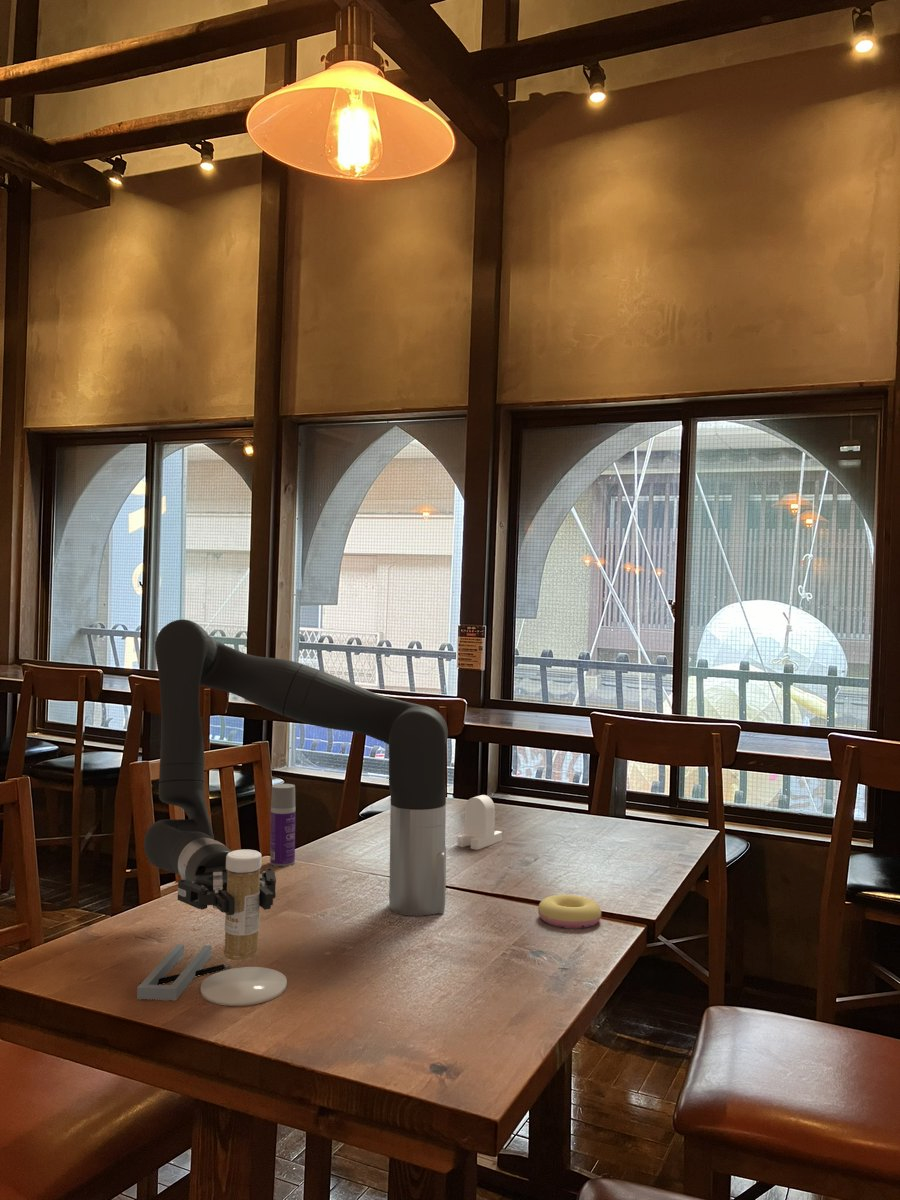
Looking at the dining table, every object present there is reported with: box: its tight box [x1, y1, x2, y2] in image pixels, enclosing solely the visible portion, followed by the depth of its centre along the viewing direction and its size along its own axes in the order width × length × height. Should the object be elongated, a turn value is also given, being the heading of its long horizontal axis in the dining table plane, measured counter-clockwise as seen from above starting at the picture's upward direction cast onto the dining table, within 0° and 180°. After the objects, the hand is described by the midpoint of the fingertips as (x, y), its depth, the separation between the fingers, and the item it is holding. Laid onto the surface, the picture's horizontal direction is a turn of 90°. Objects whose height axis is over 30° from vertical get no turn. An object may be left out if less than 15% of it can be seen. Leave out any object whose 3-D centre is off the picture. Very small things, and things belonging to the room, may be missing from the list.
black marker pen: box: [139, 963, 232, 985], centre depth 125 cm, size 12×1×1 cm, turn 125°
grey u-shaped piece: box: [136, 943, 212, 1001], centre depth 125 cm, size 5×15×2 cm, turn 177°
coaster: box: [200, 966, 288, 1007], centre depth 122 cm, size 11×11×1 cm
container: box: [269, 783, 296, 867], centre depth 180 cm, size 5×5×15 cm
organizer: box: [457, 794, 503, 850], centre depth 198 cm, size 5×10×10 cm, turn 144°
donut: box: [537, 894, 602, 929], centre depth 150 cm, size 10×5×9 cm
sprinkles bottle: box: [223, 849, 262, 962], centre depth 122 cm, size 5×5×13 cm
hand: (250, 904), depth 120 cm, fingers closed on sprinkles bottle, 4 cm apart
